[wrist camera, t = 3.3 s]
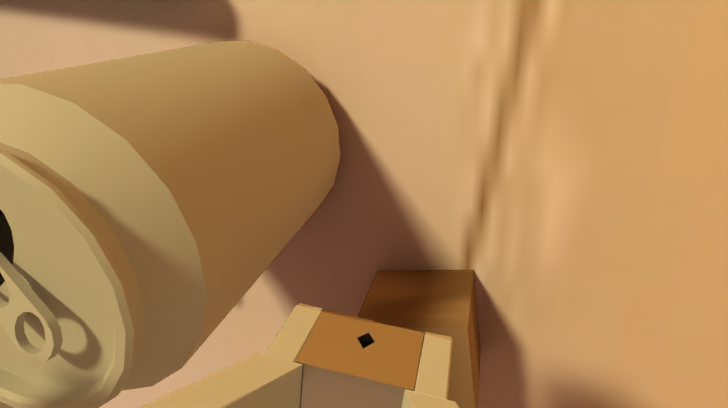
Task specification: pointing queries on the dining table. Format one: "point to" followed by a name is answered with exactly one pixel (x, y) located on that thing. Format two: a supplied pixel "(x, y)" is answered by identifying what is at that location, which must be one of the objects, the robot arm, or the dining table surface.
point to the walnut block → (434, 318)
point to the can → (146, 209)
